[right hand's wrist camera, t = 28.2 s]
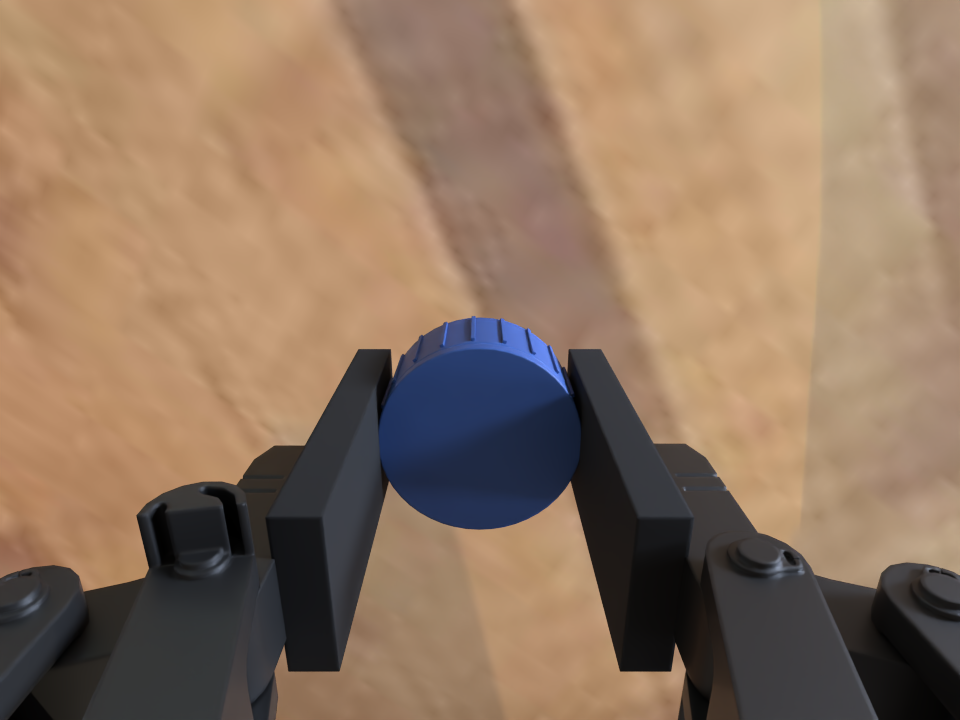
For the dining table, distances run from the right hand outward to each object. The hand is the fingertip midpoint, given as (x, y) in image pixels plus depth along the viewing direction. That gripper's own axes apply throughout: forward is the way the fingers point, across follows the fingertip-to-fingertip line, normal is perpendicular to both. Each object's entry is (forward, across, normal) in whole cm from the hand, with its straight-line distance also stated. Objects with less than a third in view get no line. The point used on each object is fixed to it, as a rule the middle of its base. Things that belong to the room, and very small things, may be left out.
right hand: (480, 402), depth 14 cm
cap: (-2, 0, 0) cm, 2 cm away
